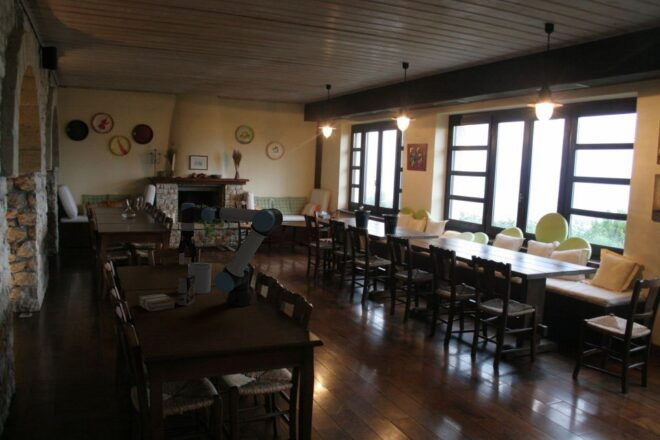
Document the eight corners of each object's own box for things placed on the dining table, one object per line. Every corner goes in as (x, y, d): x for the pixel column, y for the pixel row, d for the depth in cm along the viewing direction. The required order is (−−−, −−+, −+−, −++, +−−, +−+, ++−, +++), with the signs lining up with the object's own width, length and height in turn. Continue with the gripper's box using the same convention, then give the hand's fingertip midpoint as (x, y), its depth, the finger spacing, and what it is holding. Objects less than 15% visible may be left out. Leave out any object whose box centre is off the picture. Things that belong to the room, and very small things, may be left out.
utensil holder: (213, 293, 343) (213, 266, 341) (188, 294, 337) (189, 267, 336) (209, 288, 356) (209, 262, 355) (186, 289, 351) (186, 262, 349)
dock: (174, 308, 305) (174, 299, 304) (150, 311, 296) (150, 302, 295) (162, 302, 317) (163, 293, 317) (139, 305, 308) (139, 296, 308)
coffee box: (187, 306, 311) (188, 278, 309) (177, 304, 312) (178, 277, 310) (194, 302, 320) (195, 275, 318) (184, 301, 321) (185, 274, 319)
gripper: (172, 227, 319) (171, 263, 321) (191, 232, 300) (190, 270, 302) (184, 227, 324) (183, 262, 326) (203, 232, 305) (202, 269, 307)
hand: (186, 266), depth 314 cm, fingers open, 13 cm apart
